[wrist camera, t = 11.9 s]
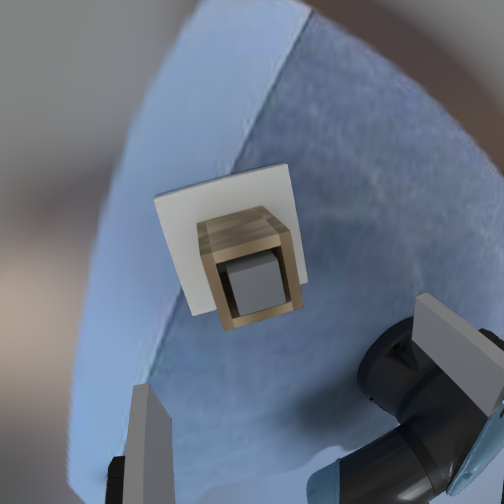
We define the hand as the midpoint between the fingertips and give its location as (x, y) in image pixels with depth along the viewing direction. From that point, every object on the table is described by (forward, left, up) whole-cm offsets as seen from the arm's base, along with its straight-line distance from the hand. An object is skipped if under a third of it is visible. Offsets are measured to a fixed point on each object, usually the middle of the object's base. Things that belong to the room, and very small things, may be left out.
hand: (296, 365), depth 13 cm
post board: (0, 0, -18) cm, 18 cm away
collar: (0, 0, -16) cm, 16 cm away
